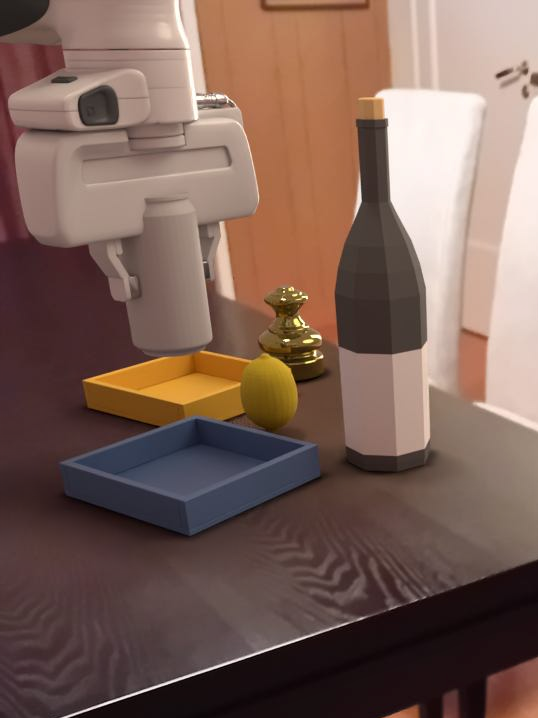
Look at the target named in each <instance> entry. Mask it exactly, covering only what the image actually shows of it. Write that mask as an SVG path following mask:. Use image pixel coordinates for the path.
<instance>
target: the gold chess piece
mask: <svg viewBox="0 0 538 718" xmlns="http://www.w3.org/2000/svg"><path fill="white" fill-rule="evenodd" d="M308 300H309V297H308V294H307V293H305V292H304V291H302V290H300V289H297V288H294V286H292V285H288V284H287V285H286V284H284V285H278V286H277V287H276V288H275V289H273V290H271V291H269V292H268V293H266V294H265V295H264V296H263V301H264V303H265V304H266V305H268V306H269V307H270V308H271V309H272V310H273V312H274V313H275V317H274V320H272V323H270V324H269V325H268V327H267V328H268V329H266V330H264V331H263V332H261V334H259V336H258V337H257V345H258V348H259V349H260V351H262V352H263V353H262V354H269V356H270V357H273V358H276V359H278V360H280V361H281V362H283V363H284V364H285V365H286V366H287V367H288V368H291V373H292V375H293V378H294V381H295V382H302V381H308V380H309V381H310V380H312V379H316V378H317V377H320V376H321V375H322V374H323V373H324V371H325V367H324V366H325V365H324V353H323V352H322V351H320V350H319V349H321V347H322V344H323V337H322V335H321V333H320V332H319V331H317V330H316V329H314V328H312V327H310V324H309V323H307V322H306V321H304V319H303V318H302V317H301V315H300V311H301V309H302V307H303V306H304V305H305V304H306V303H307V302H308Z"/></svg>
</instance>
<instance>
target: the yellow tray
mask: <svg viewBox="0 0 538 718" xmlns="http://www.w3.org/2000/svg"><path fill="white" fill-rule="evenodd" d="M252 361H253V360H251V359H246V358H242V357H237V356H231V355H226V354H222V353H216V352H211V351H207V350H202V351H200V352H197V353H194V354H190V355H185V356H177V357H157V358H154V359H152V360H148V361H145V362H141V363H138V364H135V365H131V366H128V367H124V368H120V369H117V370H113V371H110V372H106V373H103V374H99V375H96V376H93V377H89V378H86V379H82V381H81V382H82V385H83V386H82V387H83V392H84V395H85V400H86V405H87V408H88V409H91V410H96V411H99V412H103V413H107V414H111V415H115V416H119V417H122V418H126V419H130V420H134V421H136V422H137V421H138V422H142V423H146V424H150V425H153V426H157V427H159V428H160V427H163V426H165V425H168V424H171V423H174V422H177V421H180V420H183V419H185V418H188V417H191V416H194V415H199V416H204V417H208V418H212V419H216V420H220V421H226V420H229V419H232V418H234V417H237V416H240V415H243V414H246V413H245V411H244V409H243V406H242V402H241V397H240V384H241V378H242V374H243V371H244V369H245V368H246V366H247V365H248V364H249V363H250V362H252ZM289 369H290V371H291V368H289Z"/></svg>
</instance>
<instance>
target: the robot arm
mask: <svg viewBox="0 0 538 718" xmlns="http://www.w3.org/2000/svg"><path fill="white" fill-rule="evenodd" d="M0 43H3V44H14V45H15V44H17V45H39V46H40V45H41V46H61V49H62V53H63V60H64V64H65V67H63V68H60V69H58V70H56V71H54V72H53V73H51V74H48V76H45V77H43V78H41V79H39V80H37V81H35V82H34V83H32V84H31V83H30V84H29V85H27V86H25V87H23V88H20V89H19V90H17V91H15V92H13V93H12V94H11V95H10V96H9V97H8V100H7V108H8V112H9V115H10V119H11V121H12V123H13V125H14V126H16V127H18V128H21V129H27V130H25V131H24V132H22V133H21V135H20V136H19V137H18V138H17V141H16V143H15V149H14V163H15V164H14V165H15V173H16V182H17V186H18V194H19V199H20V206H21V209H22V214H23V218H24V222H25V225H26V228H27V230H28V232H29V233H30V234H31V236H32V237H34V239H35V240H36V241H37V242H38V243H39V244H41V245H44V246H49V247H53V248H62V249H63V248H64V249H69V248H75V247H76V248H77V247H81V246H86V245H87V247H88V251H89V255H90V256H91V258H92V259H93V261H94V262H95V263H96V264H97V266H98V267H99V269H100V270H101V271H102V273H103V274H104V275H105V276H106V277H107V280H108V285H109V291H110V295H111V297H112V299H113V301H117V302H121V303H126V301H130V300H134V299H138V298H140V297H141V290H140V289H139V288H138V287H139V279H138V276H137V275H129V274H128V273H127V271H126V270H125V268H124V267H123V265H122V264H121V262H120V260H119V259H118V255H121V254H122V253H123V251H122V245H121V239H122V238H128V237H134V236H140V235H142V234H143V230H144V223H143V214H144V211H145V209H146V206H147V203H146V202H145V199H144V198H152V197H160V196H167V195H175V194H185V193H188V194H189V197H188V200H189V202H190V203H191V204H192V205H193V207H194V208H195V210H196V216H197V224H198V231H199V239H200V246H201V254H202V261H203V269H204V276H205V284H208V283H212V282H213V283H214V281H215V280H216V275H215V267H214V260H215V257H216V254H217V251H218V247H219V244H220V241H221V237H222V233H221V225H220V224H221V223H220V222H226V221H232V220H236V219H244V218H249V217H253V216H254V215H255V213H256V211H257V209H258V206H259V203H260V194H259V186H258V180H257V175H256V169H255V165H254V161H253V156H252V152H251V147H250V143H249V140H248V137H247V134H246V132H245V130H244V129H245V128H244V119H243V114H242V111H241V109H240V108H239V107H238V106H237V104H236V103H235V101H233V100H232V99H231V98H229V97H228V96H227V94H226V93H224V92H221V91H212V92H209V93H200V92H197V91H196V84H195V76H194V68H193V61H192V60H193V59H192V52H191V45H190V41H189V37H188V34H187V33H186V30H185V27H184V24H183V21H182V18H181V12H180V0H0ZM228 105H229V106H228Z"/></svg>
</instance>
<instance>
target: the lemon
mask: <svg viewBox="0 0 538 718" xmlns="http://www.w3.org/2000/svg"><path fill="white" fill-rule="evenodd" d="M240 397H241V402H242V406H243V409H244V411H245V413H244V414H245V415H246V416H247V418H248V419H249V420H250V422H252V424H254V425H255V426H257V427H258V428H262V429H265V431H266V432H269V433H273V434H277V433H278V431H279V430H280V429H281V428H282V427H284V426H286V425H288V424H289V423H290V422H291V420H292V419H293V418H294V416H295V414H296V411H297V410H298V401H299V399H298V397H299V396H298V388H297V384H296V381H294V378H293V375H292V373H291V371H290V369H289V368H288V367H287V366H286V365H285V364H284V363H283V362H281V361H280V360H278V359H276V358H273V357H270V356H269V354H263V353H261V354H260V355H259V356H258V357H257V358H255V359H253V360H252V362H250V363H249V364H248V365H247V366H246V368H245V369H244V371H243V374H242V378H241V384H240Z"/></svg>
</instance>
